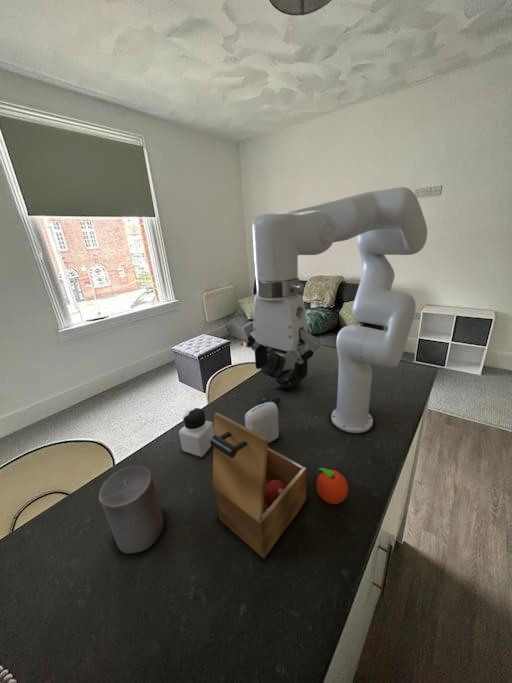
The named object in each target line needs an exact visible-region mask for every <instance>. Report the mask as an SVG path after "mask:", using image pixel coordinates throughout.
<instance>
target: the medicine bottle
mask: <svg viewBox="0 0 512 683" xmlns="http://www.w3.org/2000/svg"><path fill="white" fill-rule="evenodd" d="M182 420H183V427H181V429H180V430H179V431H178V436H179V441H180V445H181V450H182V452H185V453H187V454H191V455H194V456H197V457H200V458H203V457H204V456H205V454H206V453H207V452H208V451H209V450H210V449H211V447H213V446H212V445H211V444H210V440H211V438H212V437H213V436H214V422H212V421H210V420H206V414H205V411H204V410H203V409H202V408H199V407H193V408H190V409H187V410H186V411H185V412H184V413H183V414H182Z"/></svg>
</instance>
